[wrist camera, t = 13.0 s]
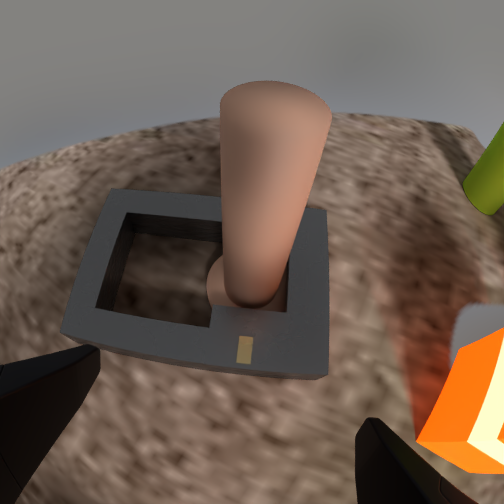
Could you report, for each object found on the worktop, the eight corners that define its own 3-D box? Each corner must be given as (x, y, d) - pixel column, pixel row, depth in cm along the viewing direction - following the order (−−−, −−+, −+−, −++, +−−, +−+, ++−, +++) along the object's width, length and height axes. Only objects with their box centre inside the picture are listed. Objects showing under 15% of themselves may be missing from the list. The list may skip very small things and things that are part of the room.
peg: (211, 336, 20) (178, 176, 7) (205, 259, 23) (185, 70, 10) (298, 326, 21) (397, 170, 8) (283, 252, 24) (332, 72, 11)
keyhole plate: (77, 343, 19) (58, 331, 16) (120, 209, 25) (110, 186, 22) (315, 380, 19) (328, 374, 16) (317, 230, 25) (327, 208, 22)
